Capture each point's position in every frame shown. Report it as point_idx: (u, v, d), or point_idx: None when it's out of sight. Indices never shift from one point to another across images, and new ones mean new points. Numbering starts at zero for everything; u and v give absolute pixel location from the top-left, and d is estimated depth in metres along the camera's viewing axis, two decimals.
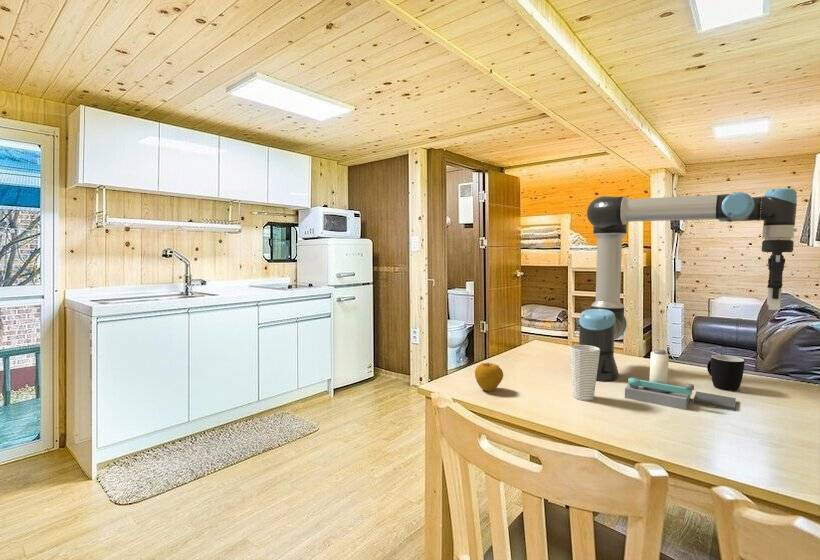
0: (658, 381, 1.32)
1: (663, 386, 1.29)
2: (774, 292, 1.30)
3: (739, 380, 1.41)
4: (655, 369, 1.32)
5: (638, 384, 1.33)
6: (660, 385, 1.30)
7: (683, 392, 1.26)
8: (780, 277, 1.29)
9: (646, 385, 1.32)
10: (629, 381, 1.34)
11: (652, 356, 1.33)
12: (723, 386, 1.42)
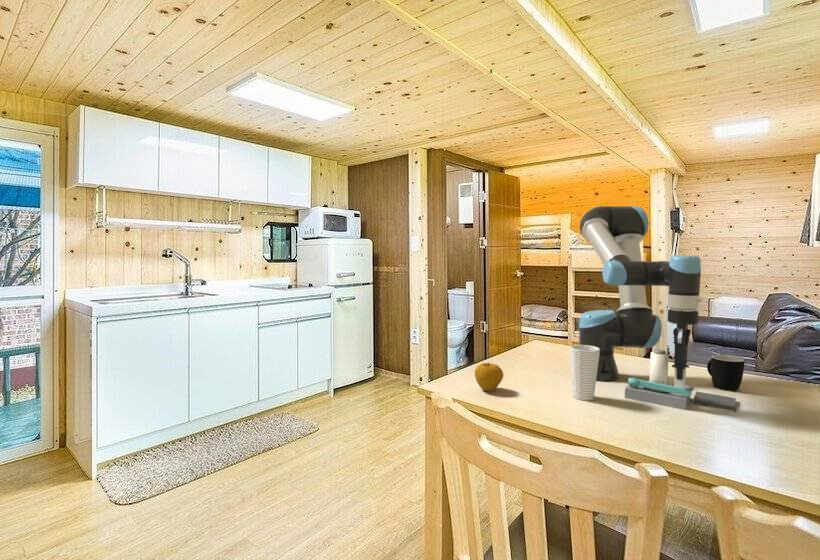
0: (658, 381, 1.32)
1: (662, 387, 1.29)
2: (678, 372, 1.26)
3: (739, 380, 1.41)
4: (655, 369, 1.32)
5: (638, 384, 1.33)
6: (659, 385, 1.29)
7: (682, 393, 1.25)
8: (682, 360, 1.23)
9: (646, 386, 1.32)
10: (629, 381, 1.35)
11: (652, 356, 1.33)
12: (723, 386, 1.42)
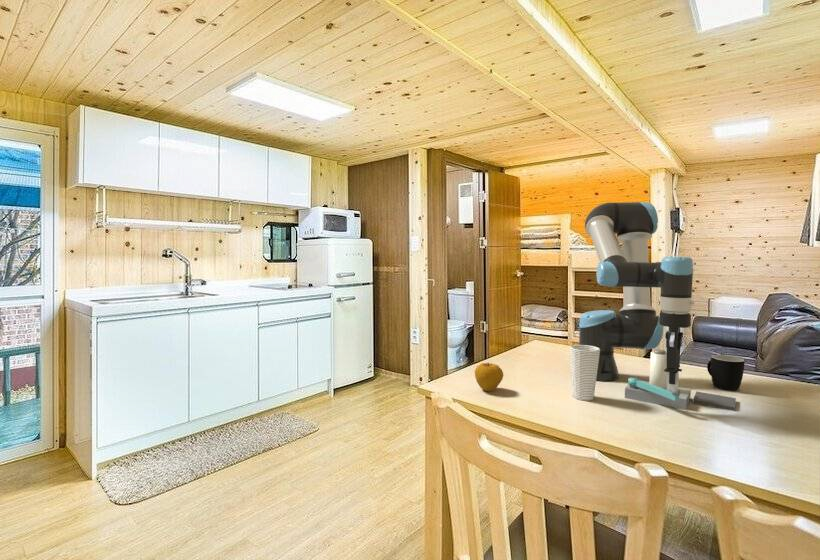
0: (658, 381, 1.32)
1: (654, 388, 1.27)
2: (670, 377, 1.22)
3: (739, 380, 1.41)
4: (655, 369, 1.32)
5: (635, 384, 1.33)
6: (651, 387, 1.27)
7: (669, 397, 1.22)
8: (674, 364, 1.20)
9: (641, 386, 1.31)
10: (628, 380, 1.35)
11: (652, 356, 1.33)
12: (723, 386, 1.42)
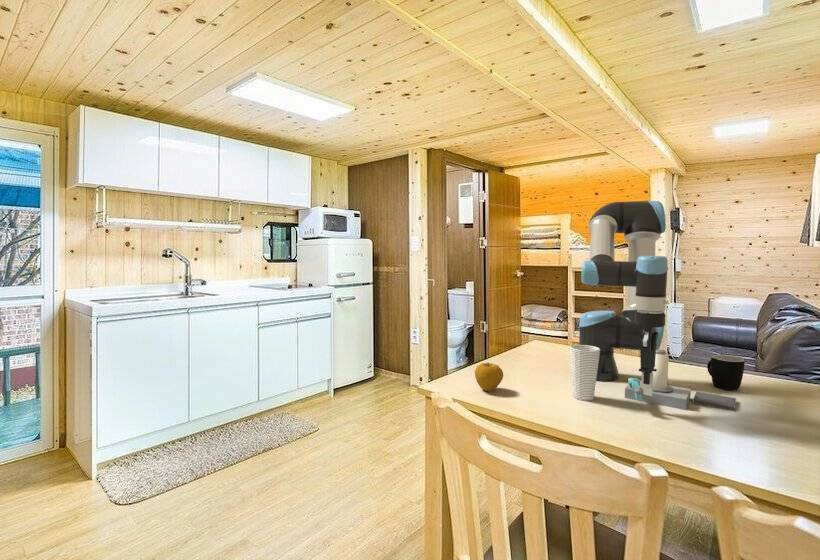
0: (658, 381, 1.32)
1: (633, 387, 1.27)
2: (645, 377, 1.21)
3: (739, 380, 1.41)
4: None
5: (631, 383, 1.34)
6: (633, 386, 1.28)
7: (635, 395, 1.23)
8: (648, 364, 1.19)
9: (632, 386, 1.32)
10: None
11: None
12: (723, 386, 1.42)
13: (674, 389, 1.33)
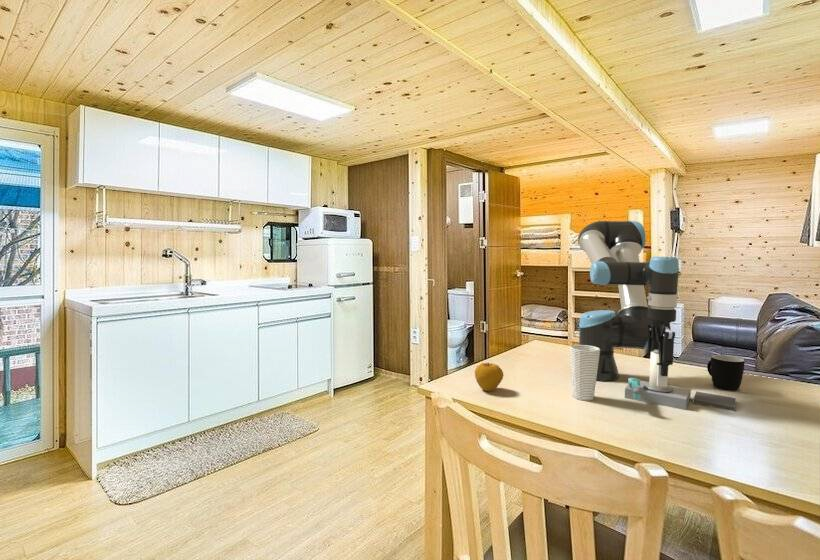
0: None
1: (633, 387, 1.28)
2: None
3: (739, 380, 1.41)
4: (655, 369, 1.32)
5: (631, 383, 1.34)
6: (632, 386, 1.28)
7: None
8: None
9: None
10: None
11: (652, 356, 1.33)
12: (723, 386, 1.42)
13: (674, 389, 1.33)
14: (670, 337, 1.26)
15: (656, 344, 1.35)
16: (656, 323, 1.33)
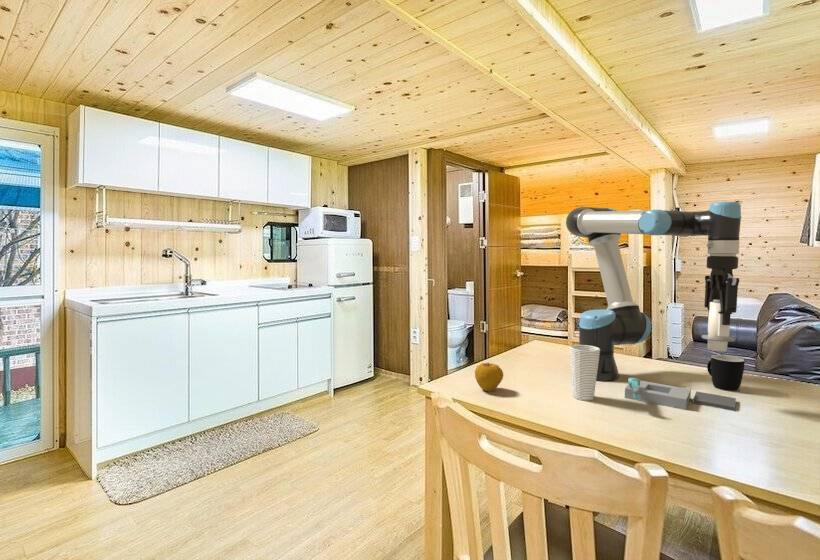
0: None
1: (633, 387, 1.28)
2: None
3: (739, 380, 1.41)
4: (716, 318, 1.28)
5: (631, 383, 1.34)
6: (632, 386, 1.28)
7: None
8: None
9: None
10: None
11: (712, 305, 1.29)
12: (723, 386, 1.42)
13: (674, 389, 1.33)
14: (734, 283, 1.22)
15: (715, 294, 1.31)
16: (716, 272, 1.29)
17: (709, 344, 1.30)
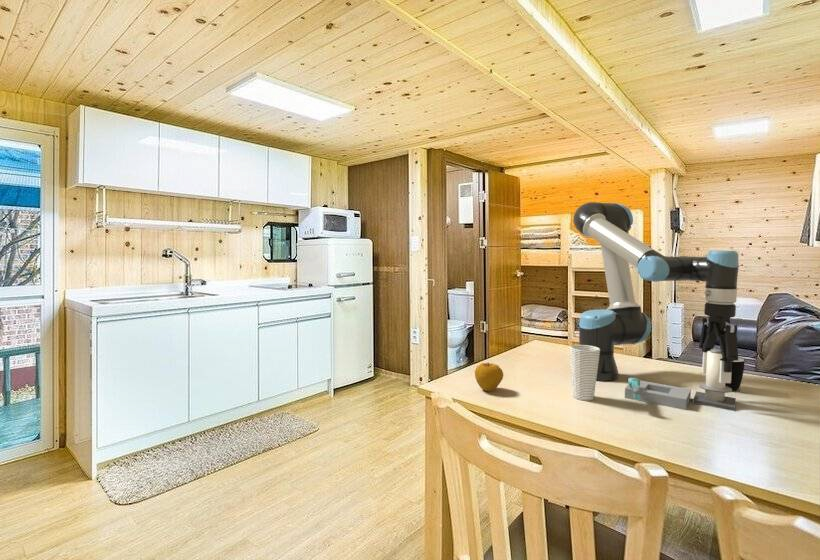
0: (716, 381, 1.28)
1: (633, 387, 1.28)
2: None
3: (739, 380, 1.41)
4: (713, 369, 1.29)
5: (631, 383, 1.34)
6: (632, 386, 1.28)
7: None
8: None
9: None
10: None
11: (709, 355, 1.30)
12: None
13: (674, 389, 1.33)
14: (732, 330, 1.23)
15: (711, 338, 1.33)
16: (714, 320, 1.30)
17: (706, 393, 1.31)
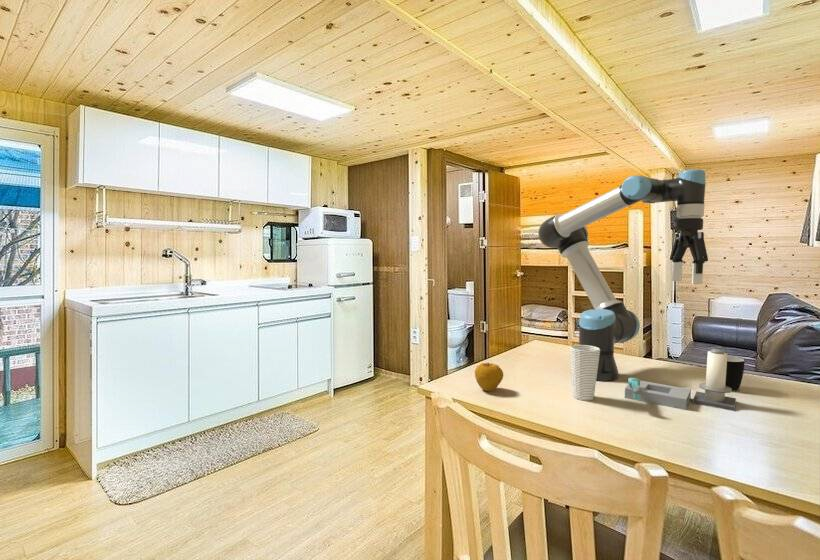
0: (716, 381, 1.28)
1: (633, 387, 1.28)
2: None
3: (739, 380, 1.41)
4: (714, 369, 1.29)
5: (631, 383, 1.34)
6: (632, 386, 1.28)
7: None
8: None
9: None
10: None
11: (710, 356, 1.29)
12: None
13: (674, 389, 1.33)
14: (700, 236, 1.37)
15: (681, 251, 1.48)
16: None
17: (706, 393, 1.31)
